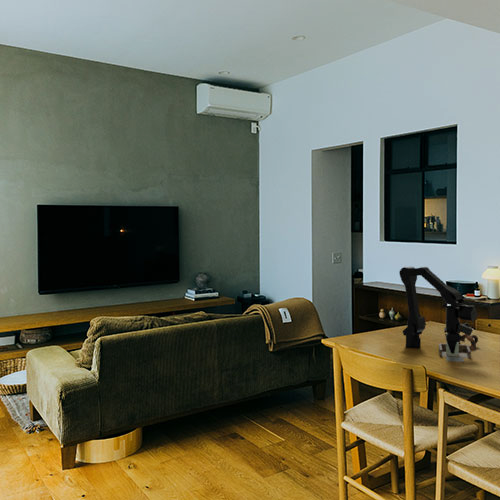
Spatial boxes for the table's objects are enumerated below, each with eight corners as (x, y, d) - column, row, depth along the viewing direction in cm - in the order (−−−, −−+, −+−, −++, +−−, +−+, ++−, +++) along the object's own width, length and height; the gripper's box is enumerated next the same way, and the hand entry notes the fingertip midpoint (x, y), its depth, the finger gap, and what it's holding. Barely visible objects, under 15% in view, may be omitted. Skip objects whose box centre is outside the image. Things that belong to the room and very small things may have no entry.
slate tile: (446, 361, 226) (446, 360, 226) (445, 357, 232) (445, 356, 232) (463, 362, 223) (463, 361, 223) (462, 358, 230) (462, 357, 230)
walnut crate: (439, 357, 233) (439, 349, 233) (438, 350, 246) (438, 343, 246) (470, 359, 229) (470, 351, 229) (468, 352, 242) (468, 345, 242)
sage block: (446, 355, 234) (446, 342, 234) (446, 352, 239) (446, 340, 239) (458, 356, 233) (458, 343, 233) (457, 353, 238) (457, 340, 237)
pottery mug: (468, 352, 243) (459, 336, 245) (456, 357, 251) (447, 341, 253) (486, 343, 247) (477, 328, 249) (474, 348, 255) (465, 333, 258)
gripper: (473, 322, 224) (473, 358, 225) (469, 315, 242) (469, 348, 242) (446, 321, 227) (446, 356, 228) (444, 314, 245) (444, 346, 246)
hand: (452, 351), depth 236 cm, fingers closed on sage block, 5 cm apart
